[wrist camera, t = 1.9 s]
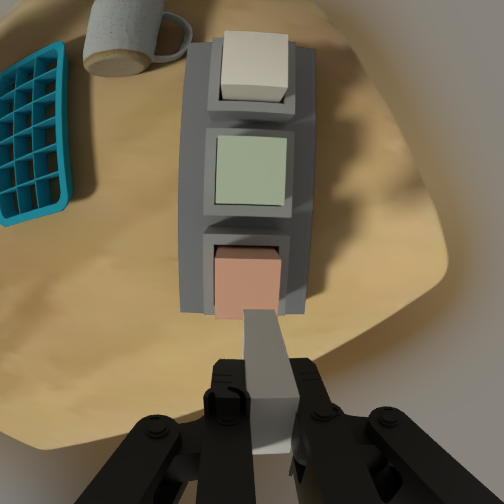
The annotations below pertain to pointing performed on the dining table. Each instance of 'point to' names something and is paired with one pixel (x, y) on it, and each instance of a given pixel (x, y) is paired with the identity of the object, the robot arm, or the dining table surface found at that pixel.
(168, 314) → the dining table surface
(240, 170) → the sage key
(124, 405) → the dining table surface
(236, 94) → the ivory key
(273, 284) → the terracotta key
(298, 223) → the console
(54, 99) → the ice cube tray
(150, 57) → the ceramic mug
